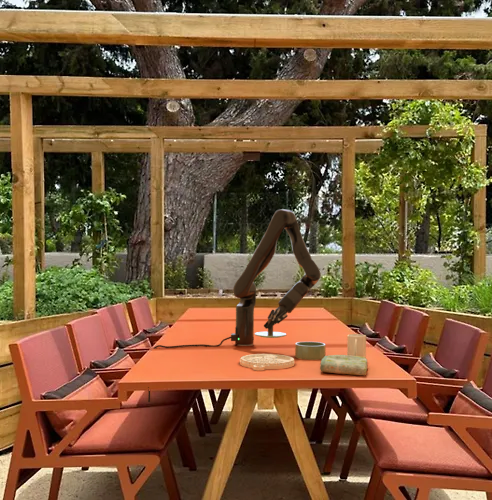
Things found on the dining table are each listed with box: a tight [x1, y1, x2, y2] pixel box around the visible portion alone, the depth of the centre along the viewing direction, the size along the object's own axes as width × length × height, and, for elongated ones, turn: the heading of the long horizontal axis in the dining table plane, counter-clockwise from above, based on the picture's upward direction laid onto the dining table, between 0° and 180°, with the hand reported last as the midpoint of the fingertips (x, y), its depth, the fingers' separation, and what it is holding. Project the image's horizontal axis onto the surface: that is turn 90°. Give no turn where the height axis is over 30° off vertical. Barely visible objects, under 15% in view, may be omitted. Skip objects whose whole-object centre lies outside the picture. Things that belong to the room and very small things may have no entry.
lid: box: [254, 318, 287, 339], centre depth 279 cm, size 15×15×8 cm
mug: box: [346, 333, 367, 359], centre depth 261 cm, size 12×8×12 cm
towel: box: [319, 354, 368, 376], centre depth 245 cm, size 18×21×5 cm
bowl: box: [294, 341, 327, 361], centre depth 273 cm, size 14×14×6 cm
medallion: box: [239, 353, 296, 372], centre depth 256 cm, size 24×27×2 cm
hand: (266, 327), depth 278 cm, fingers closed on lid, 2 cm apart
